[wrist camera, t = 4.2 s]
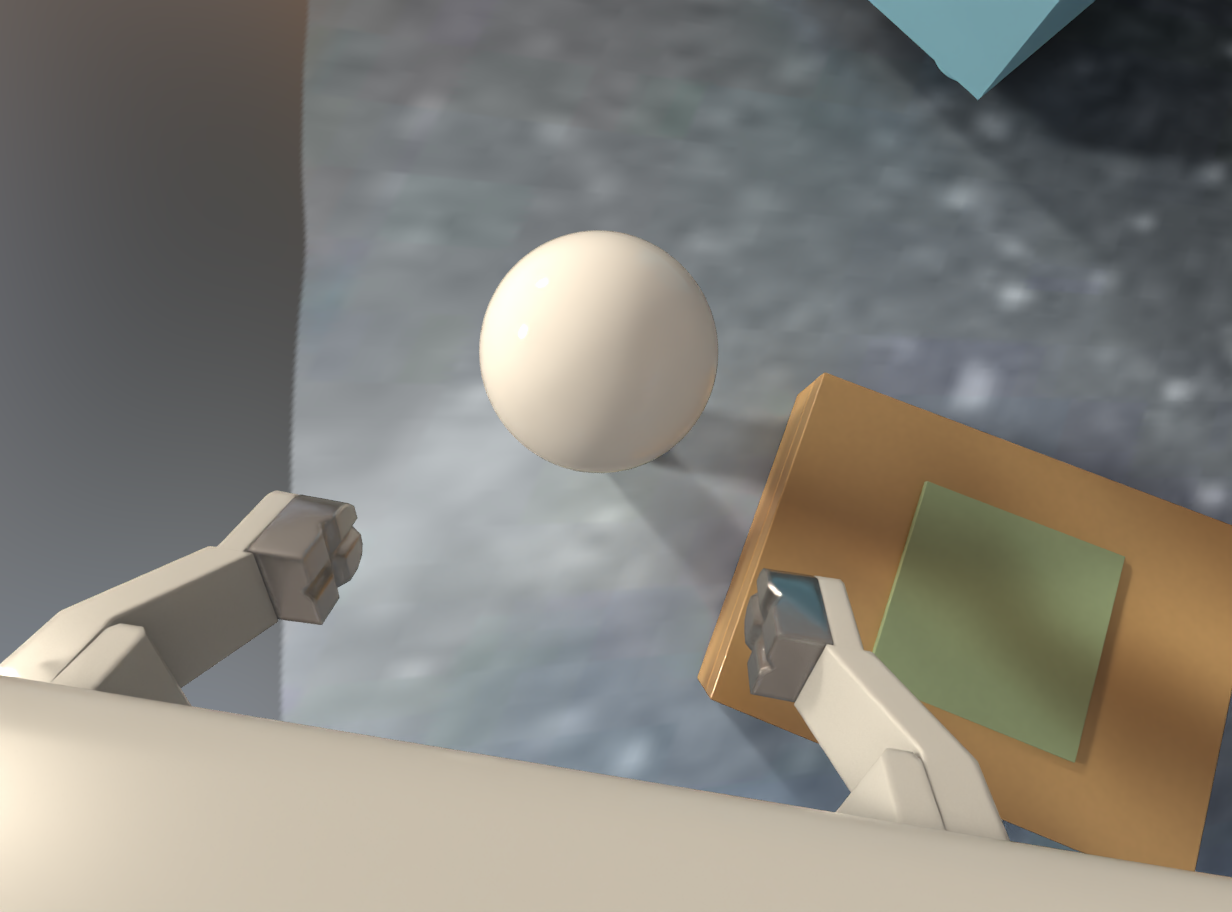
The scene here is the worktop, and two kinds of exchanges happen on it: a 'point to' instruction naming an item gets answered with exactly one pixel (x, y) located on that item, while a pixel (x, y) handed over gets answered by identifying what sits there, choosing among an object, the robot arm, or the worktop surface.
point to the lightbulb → (598, 351)
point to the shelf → (1008, 614)
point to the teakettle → (980, 33)
